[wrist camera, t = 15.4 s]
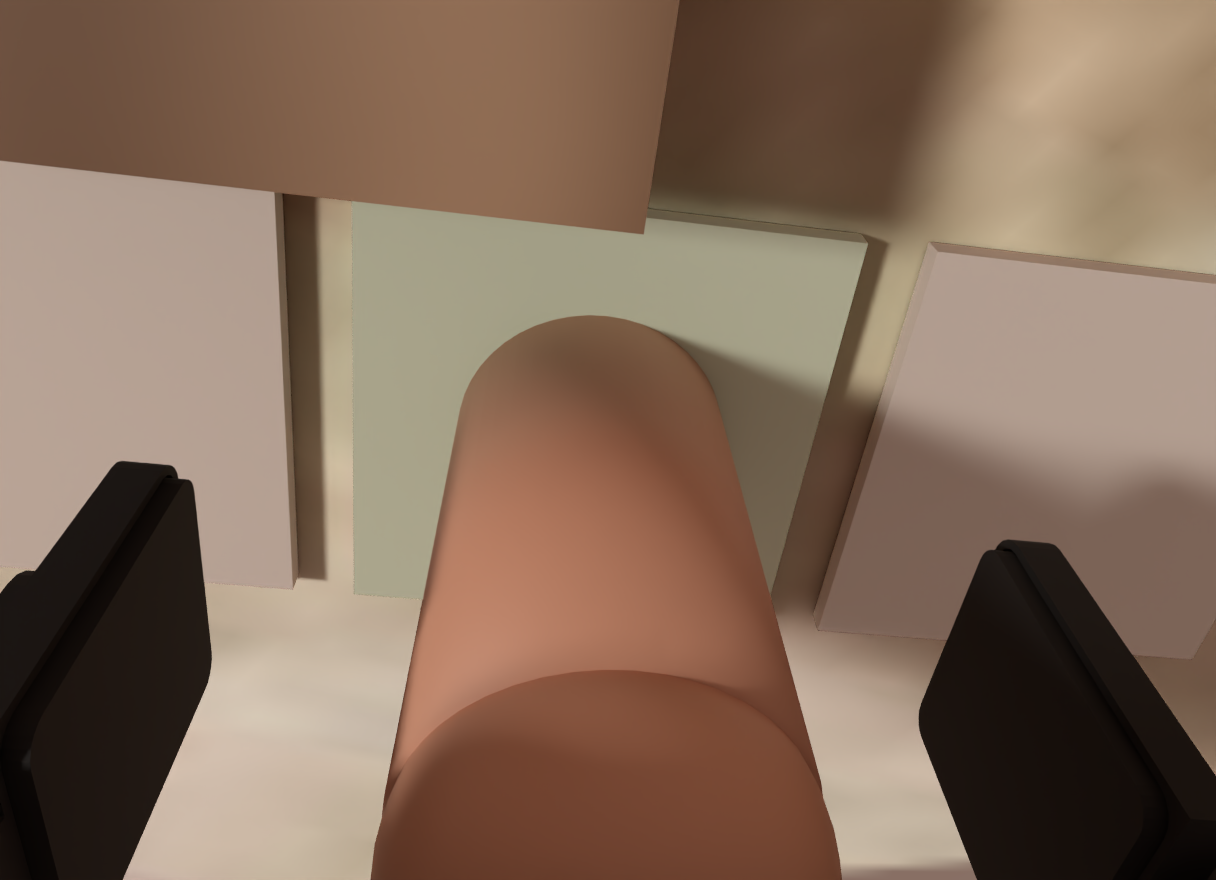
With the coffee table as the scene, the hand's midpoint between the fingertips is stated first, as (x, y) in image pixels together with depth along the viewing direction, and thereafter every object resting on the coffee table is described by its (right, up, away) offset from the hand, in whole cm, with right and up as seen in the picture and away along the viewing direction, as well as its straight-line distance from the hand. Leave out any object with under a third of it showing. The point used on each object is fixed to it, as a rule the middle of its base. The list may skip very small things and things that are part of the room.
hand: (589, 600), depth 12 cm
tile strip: (0, +2, +4) cm, 4 cm away
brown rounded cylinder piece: (0, +2, +3) cm, 4 cm away
